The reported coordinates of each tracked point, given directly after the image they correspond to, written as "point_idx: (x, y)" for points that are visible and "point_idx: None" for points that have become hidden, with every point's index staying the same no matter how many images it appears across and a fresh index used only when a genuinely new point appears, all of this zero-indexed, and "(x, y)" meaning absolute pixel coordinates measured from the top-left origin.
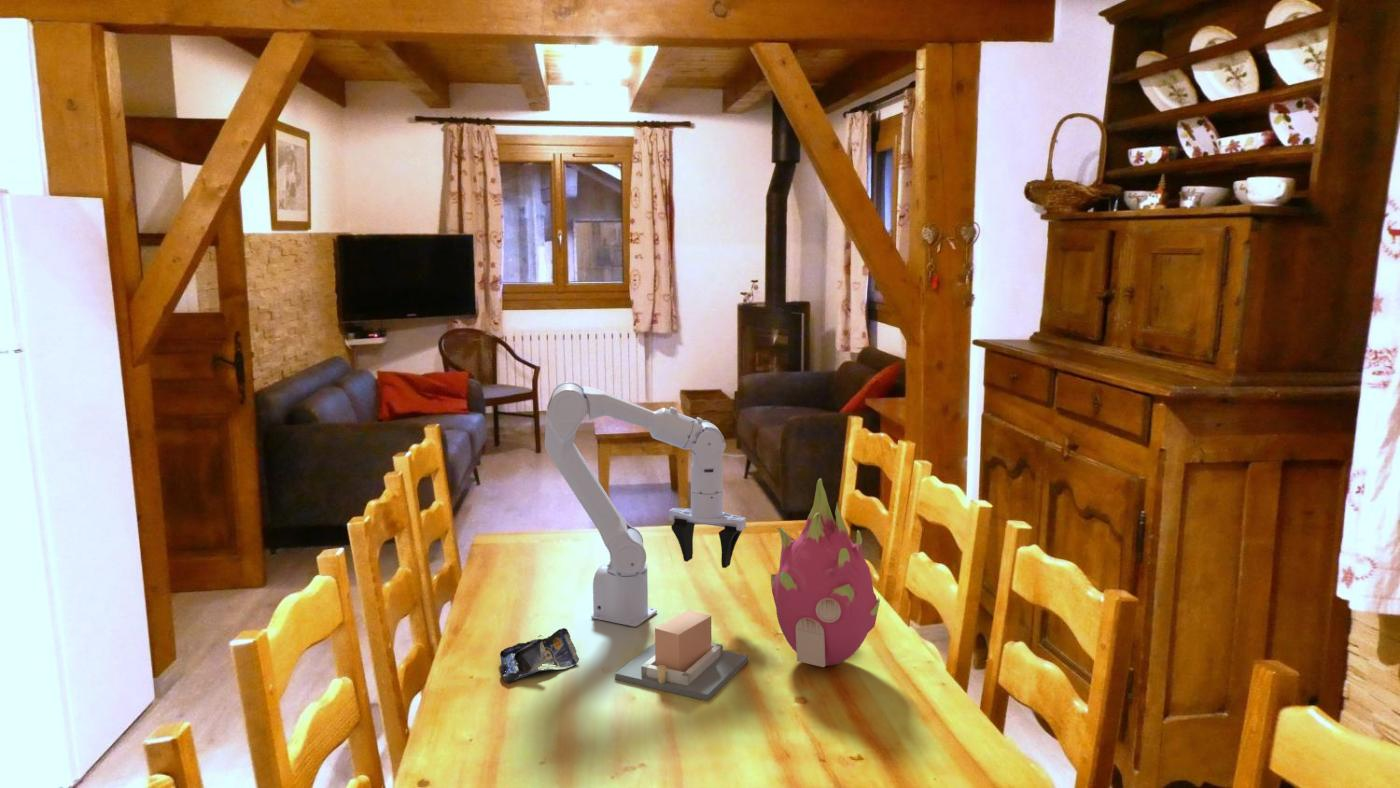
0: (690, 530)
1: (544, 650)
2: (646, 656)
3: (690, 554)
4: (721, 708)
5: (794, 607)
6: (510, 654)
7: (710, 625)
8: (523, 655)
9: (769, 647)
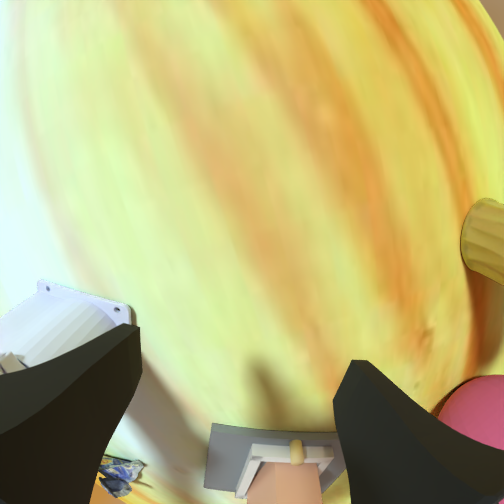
0: (51, 458)
1: (125, 494)
2: (219, 467)
3: (130, 361)
4: (336, 489)
5: None
6: None
7: (320, 498)
8: (106, 481)
9: (405, 386)
